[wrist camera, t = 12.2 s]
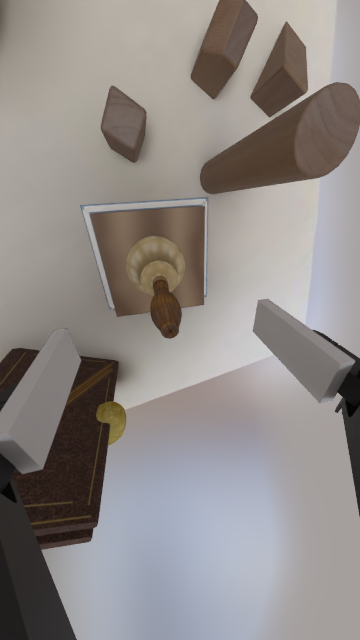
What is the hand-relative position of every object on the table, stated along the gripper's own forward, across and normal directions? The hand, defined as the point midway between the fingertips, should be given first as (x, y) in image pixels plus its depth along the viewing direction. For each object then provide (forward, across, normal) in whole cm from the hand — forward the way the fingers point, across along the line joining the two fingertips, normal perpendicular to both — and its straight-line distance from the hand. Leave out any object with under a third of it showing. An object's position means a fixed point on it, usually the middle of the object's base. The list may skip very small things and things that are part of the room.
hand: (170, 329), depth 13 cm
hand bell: (+16, 0, 0) cm, 16 cm away
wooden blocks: (+22, +9, +18) cm, 30 cm away
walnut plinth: (+22, 0, 0) cm, 22 cm away
